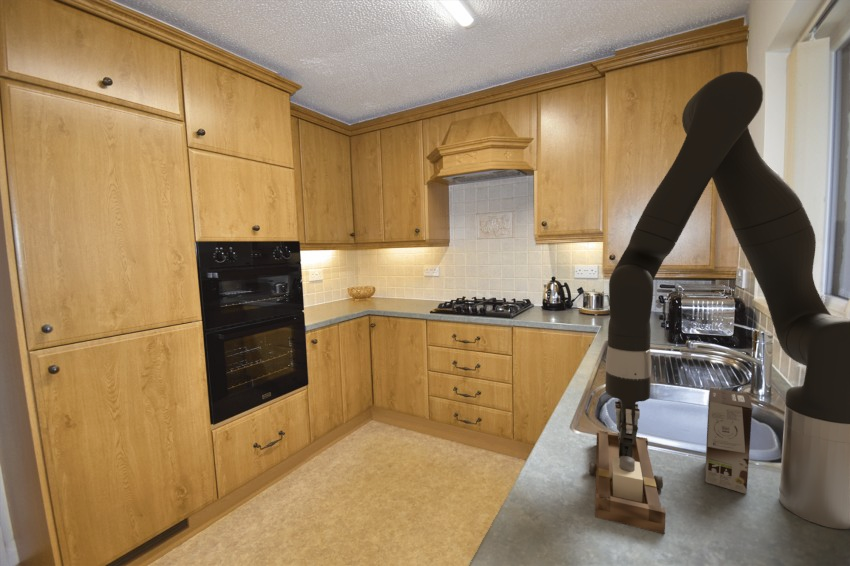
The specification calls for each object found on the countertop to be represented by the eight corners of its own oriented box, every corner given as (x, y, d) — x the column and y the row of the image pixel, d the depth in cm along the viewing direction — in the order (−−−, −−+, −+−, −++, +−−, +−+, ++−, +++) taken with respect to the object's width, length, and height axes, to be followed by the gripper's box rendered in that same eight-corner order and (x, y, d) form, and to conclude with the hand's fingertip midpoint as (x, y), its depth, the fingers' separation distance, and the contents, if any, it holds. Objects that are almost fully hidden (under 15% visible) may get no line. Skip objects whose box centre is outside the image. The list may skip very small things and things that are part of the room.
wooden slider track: (653, 454, 84) (653, 438, 84) (673, 536, 61) (674, 513, 60) (590, 443, 89) (591, 428, 89) (587, 515, 66) (587, 494, 65)
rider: (639, 482, 72) (639, 453, 71) (642, 502, 66) (643, 471, 66) (611, 477, 73) (612, 449, 73) (612, 495, 68) (613, 465, 68)
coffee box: (748, 495, 70) (753, 408, 69) (704, 482, 74) (708, 400, 73) (745, 471, 77) (750, 392, 76) (705, 461, 81) (709, 386, 80)
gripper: (656, 384, 65) (652, 482, 67) (646, 363, 78) (643, 446, 79) (606, 379, 68) (604, 473, 70) (604, 359, 80) (602, 440, 82)
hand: (625, 459), depth 74 cm, fingers closed
